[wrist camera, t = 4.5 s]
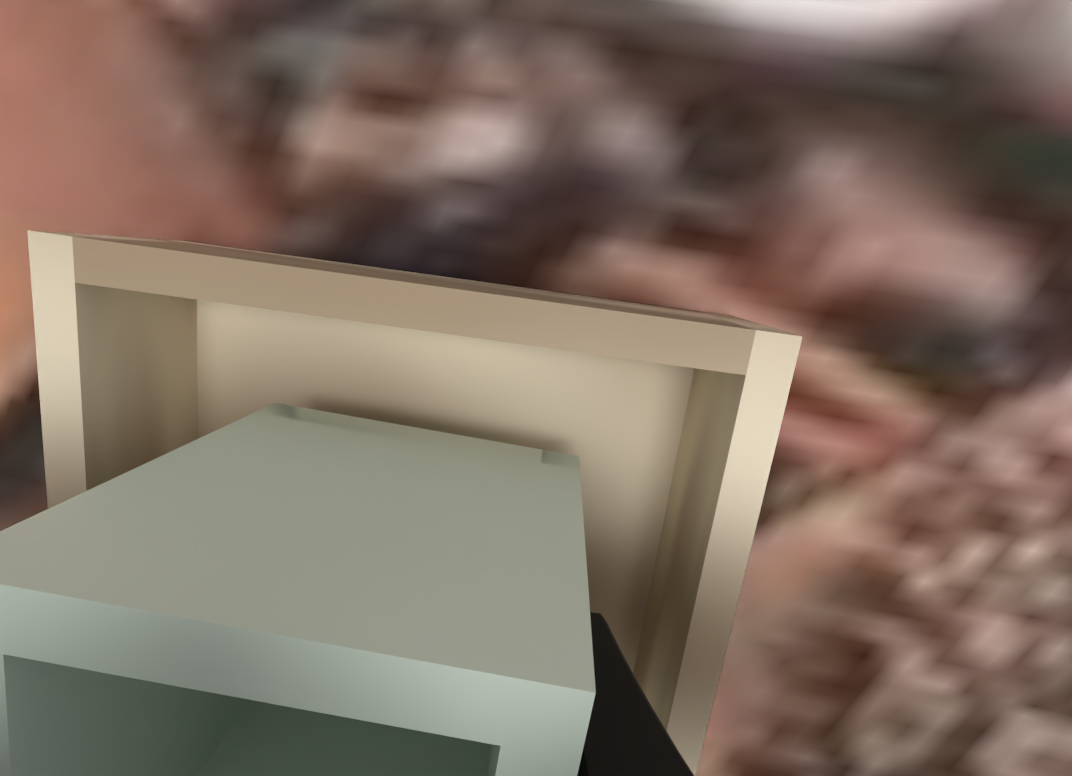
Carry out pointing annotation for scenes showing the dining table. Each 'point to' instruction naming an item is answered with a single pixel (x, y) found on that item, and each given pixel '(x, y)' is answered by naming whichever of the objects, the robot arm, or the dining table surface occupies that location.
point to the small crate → (303, 610)
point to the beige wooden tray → (441, 406)
